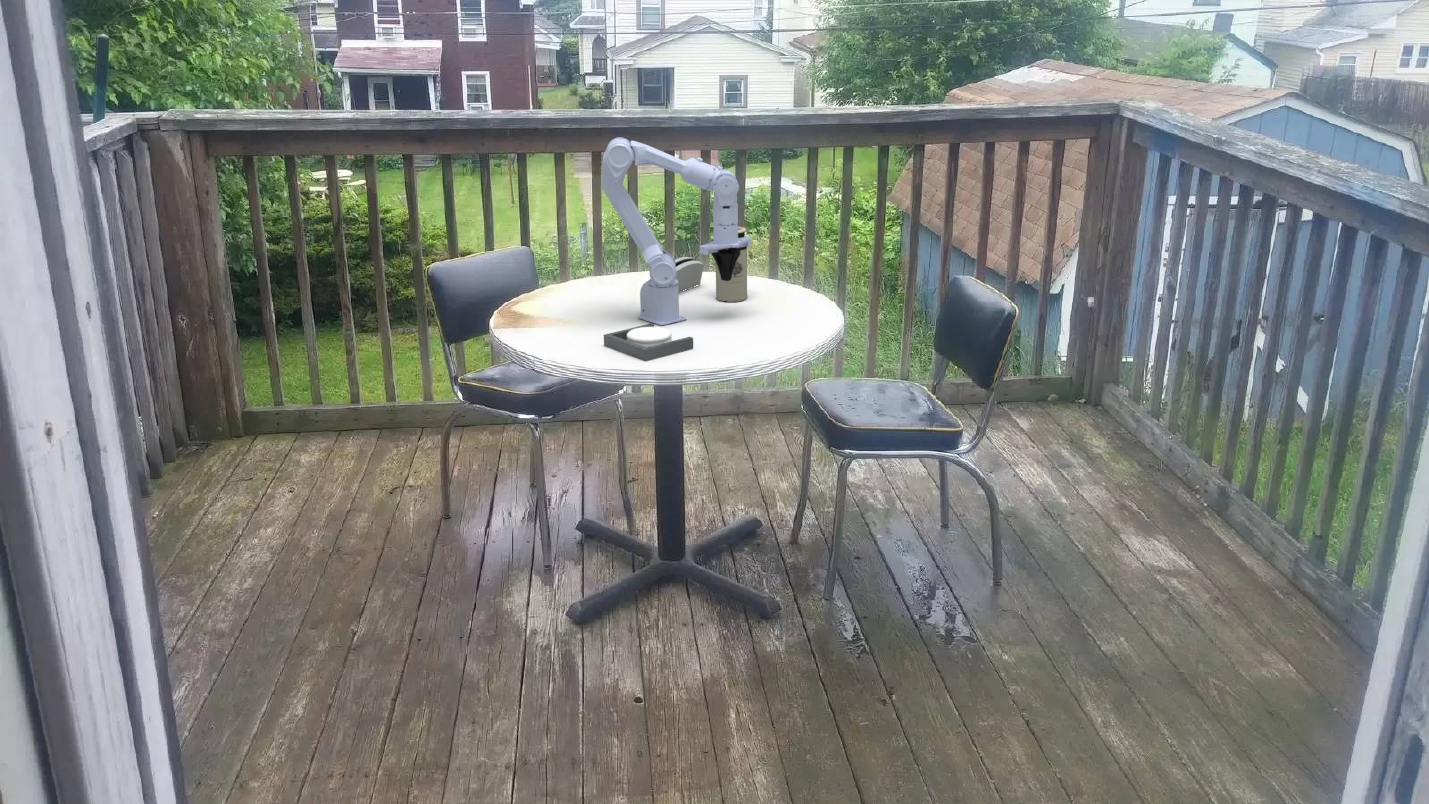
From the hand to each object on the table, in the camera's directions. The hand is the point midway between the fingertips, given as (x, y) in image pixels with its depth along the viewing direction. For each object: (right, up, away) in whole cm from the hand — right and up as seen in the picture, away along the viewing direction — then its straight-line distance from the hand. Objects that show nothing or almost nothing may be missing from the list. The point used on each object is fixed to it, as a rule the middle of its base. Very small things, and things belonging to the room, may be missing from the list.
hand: (726, 280), depth 267 cm
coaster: (-17, -17, -17) cm, 30 cm away
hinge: (-12, 0, +29) cm, 31 cm away
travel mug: (+2, -3, +21) cm, 21 cm away
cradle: (-17, -17, -18) cm, 30 cm away
